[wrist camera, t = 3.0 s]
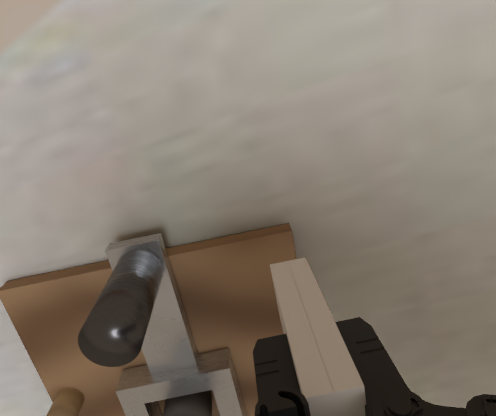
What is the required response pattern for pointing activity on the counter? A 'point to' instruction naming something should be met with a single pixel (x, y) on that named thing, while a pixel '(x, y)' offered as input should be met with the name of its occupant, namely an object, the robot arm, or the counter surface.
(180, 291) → the board
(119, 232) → the counter surface
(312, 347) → the robot arm
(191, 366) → the square frame with handle
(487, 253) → the counter surface
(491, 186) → the counter surface
